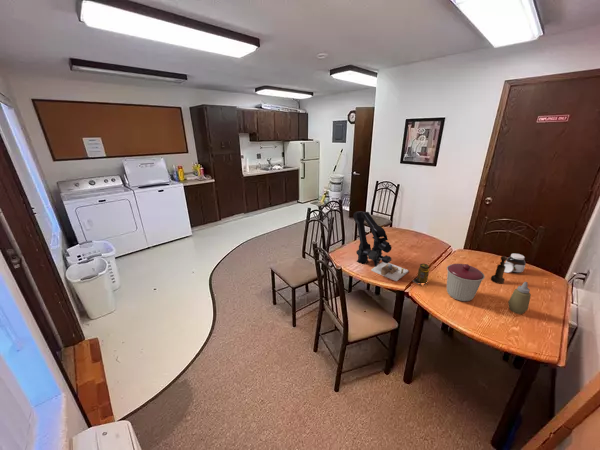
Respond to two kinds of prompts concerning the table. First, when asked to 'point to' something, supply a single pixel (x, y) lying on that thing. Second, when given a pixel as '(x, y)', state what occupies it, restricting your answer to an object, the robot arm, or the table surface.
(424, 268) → the condiment
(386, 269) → the block
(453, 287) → the canister
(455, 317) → the table surface
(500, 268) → the pepper mill
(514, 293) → the squeeze bottle
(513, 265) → the spread jar
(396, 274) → the board
